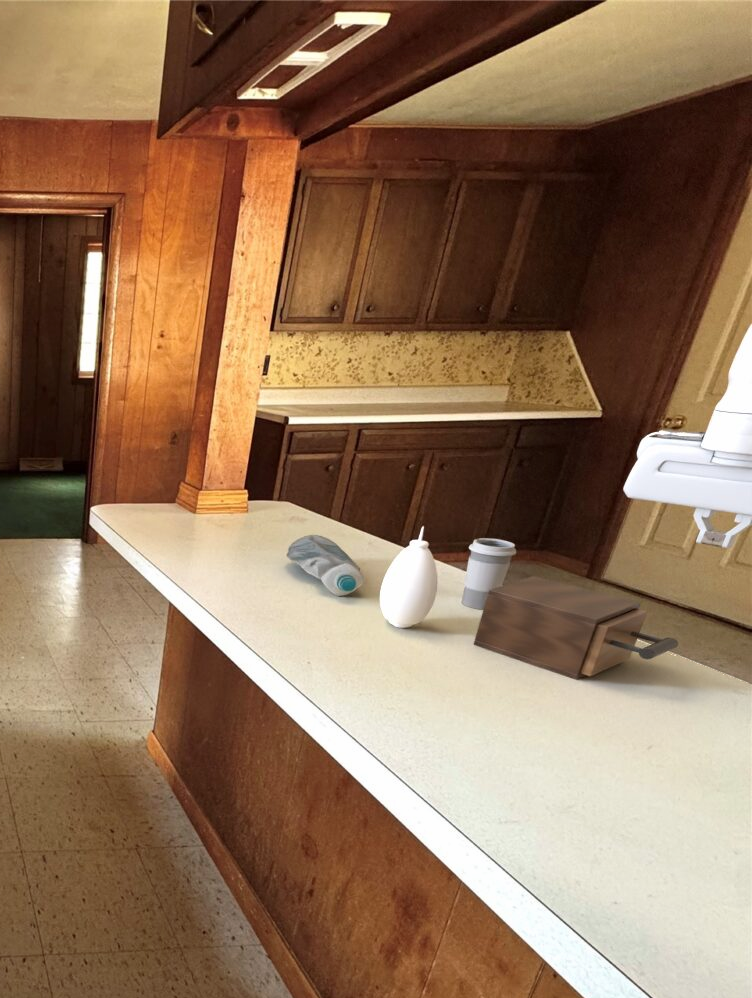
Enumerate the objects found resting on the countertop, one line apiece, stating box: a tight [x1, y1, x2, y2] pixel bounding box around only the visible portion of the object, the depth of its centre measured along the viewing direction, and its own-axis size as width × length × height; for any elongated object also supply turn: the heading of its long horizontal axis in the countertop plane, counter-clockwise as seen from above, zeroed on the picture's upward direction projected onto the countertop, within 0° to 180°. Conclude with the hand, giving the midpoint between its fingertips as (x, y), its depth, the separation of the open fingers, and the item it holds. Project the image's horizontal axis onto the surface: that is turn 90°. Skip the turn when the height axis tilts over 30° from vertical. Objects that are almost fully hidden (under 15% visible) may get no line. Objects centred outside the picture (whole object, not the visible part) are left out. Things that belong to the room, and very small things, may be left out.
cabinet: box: [473, 575, 642, 680], centre depth 102 cm, size 14×13×10 cm
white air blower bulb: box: [379, 525, 439, 629], centre depth 112 cm, size 8×8×18 cm
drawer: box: [581, 608, 679, 677], centre depth 99 cm, size 17×11×8 cm, turn 26°
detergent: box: [286, 534, 365, 597], centre depth 135 cm, size 13×7×25 cm
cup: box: [461, 537, 517, 610], centre depth 120 cm, size 7×7×12 cm
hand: (713, 545), depth 85 cm, fingers closed
